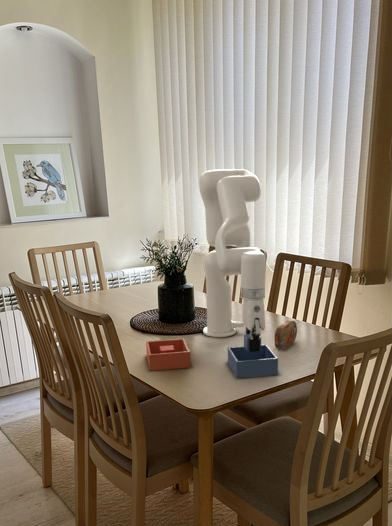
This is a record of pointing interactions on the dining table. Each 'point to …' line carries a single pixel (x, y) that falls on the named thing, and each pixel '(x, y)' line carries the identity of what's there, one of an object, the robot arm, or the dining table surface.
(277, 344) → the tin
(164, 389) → the dining table surface
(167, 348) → the red block
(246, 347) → the blue block
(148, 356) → the terracotta bin
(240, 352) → the blue bin
